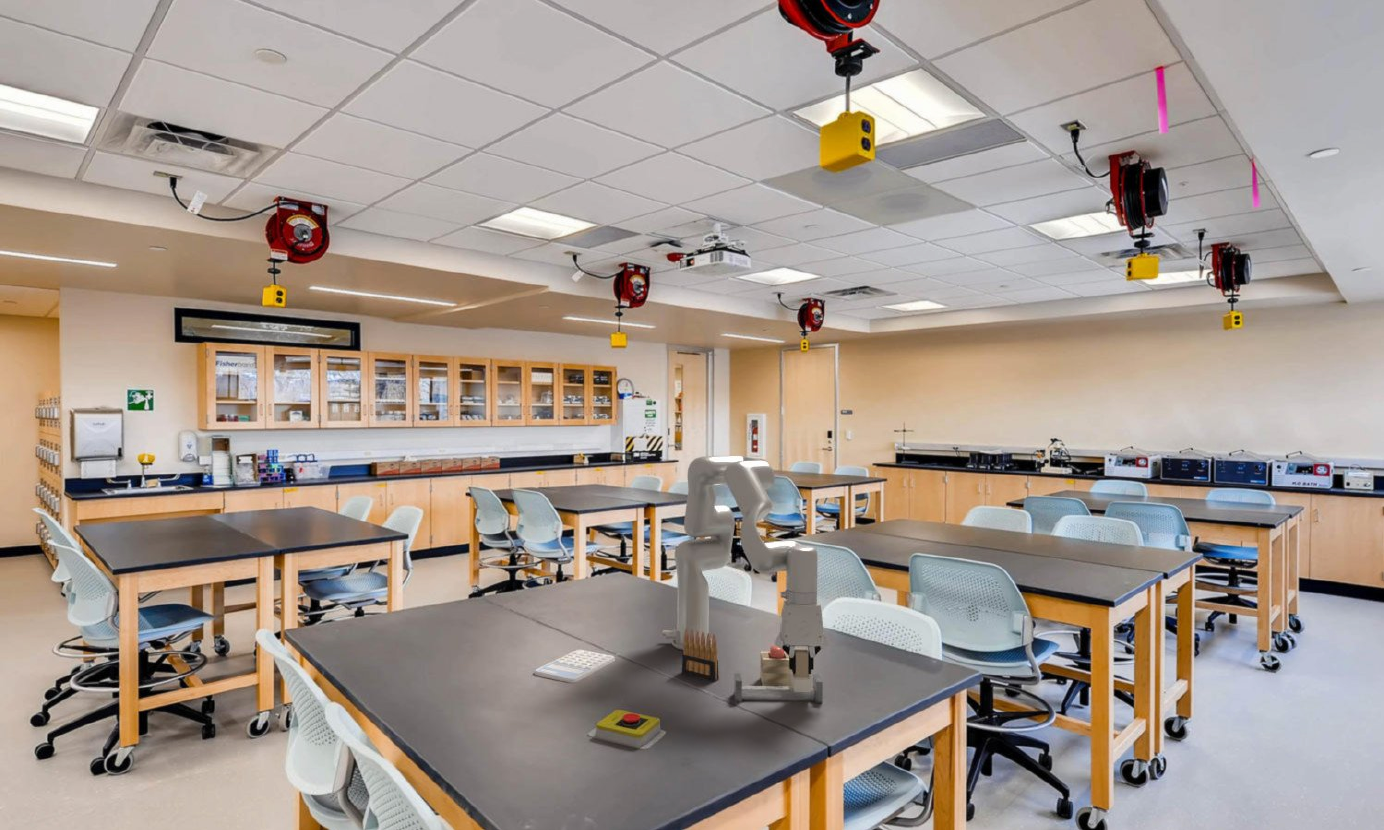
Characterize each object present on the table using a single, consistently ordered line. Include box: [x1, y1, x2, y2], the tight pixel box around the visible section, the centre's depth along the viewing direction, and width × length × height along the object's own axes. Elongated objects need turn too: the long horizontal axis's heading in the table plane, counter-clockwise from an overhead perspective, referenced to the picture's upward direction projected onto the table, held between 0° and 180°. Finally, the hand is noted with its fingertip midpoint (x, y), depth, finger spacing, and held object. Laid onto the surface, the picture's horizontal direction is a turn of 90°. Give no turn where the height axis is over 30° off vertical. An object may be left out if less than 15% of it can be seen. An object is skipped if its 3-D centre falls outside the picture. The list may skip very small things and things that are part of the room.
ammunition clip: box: [681, 628, 720, 683], centre depth 182 cm, size 11×2×12 cm, turn 56°
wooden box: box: [760, 651, 792, 686], centre depth 178 cm, size 8×6×7 cm
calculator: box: [534, 649, 616, 684], centre depth 188 cm, size 13×20×2 cm, turn 153°
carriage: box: [791, 647, 812, 692], centre depth 168 cm, size 4×6×9 cm, turn 0°
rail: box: [733, 672, 824, 704], centre depth 168 cm, size 21×5×5 cm, turn 90°
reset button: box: [769, 645, 785, 659], centre depth 178 cm, size 4×4×4 cm
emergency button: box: [587, 709, 667, 751], centre depth 148 cm, size 9×4×15 cm
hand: (801, 671), depth 168 cm, fingers closed on carriage, 3 cm apart
